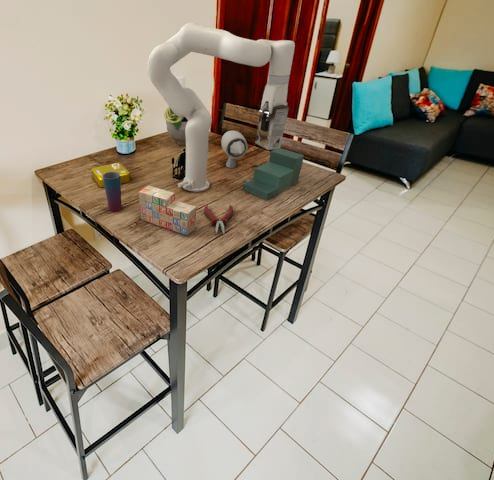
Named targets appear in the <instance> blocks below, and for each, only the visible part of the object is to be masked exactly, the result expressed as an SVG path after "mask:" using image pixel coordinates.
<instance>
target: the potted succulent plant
mask: <svg viewBox="0 0 494 480" xmlns="http://www.w3.org/2000/svg"><path fill="white" fill-rule="evenodd" d="M163 116H164V117H163V118H164V120H165V121H166V123H165V124H166V131H167V134H168V136H169V137H170V138H171V139H172V140H174V141H176V143H177V144H178V145H180V146H186V136H185V128H186V124H187V122H188V120H187V119H186V117H179V116H177V115H176V114H175V113H174V112H173V111H172V109H171V108H170V107H169V106H168V107H167V108H166V109H165V112H164V114H163Z"/></svg>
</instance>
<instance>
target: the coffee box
mask: <svg viewBox="0 0 494 480" xmlns="http://www.w3.org/2000/svg"><path fill="white" fill-rule="evenodd" d="M289 111H290V106H288V105H287V106H285V105H279V106H275V107H273V111H272V114H270V118H269V120H268V121H269V127H268V131H267V132H266V131H262V130H260V128H261V121H262V120H261V117H260V115H259V117H258V123H257V130H256V135H255V136H256V137H255V141H254V144H256V145H258V146H260V147H261V148H263V149H265V150H267V151H272V150H275V149H279V148H281V146H282V141H283V136H284V132H285V127H286V122H287V118H288V114H289ZM267 112H269V110H267ZM267 115H268V114H266V116H267Z"/></svg>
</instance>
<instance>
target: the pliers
mask: <svg viewBox="0 0 494 480" xmlns="http://www.w3.org/2000/svg"><path fill="white" fill-rule="evenodd" d="M203 212H204V215H205V216H206V217H207V218H208V219H209V220H211V226H213V227H214V226H215V235H216V236H217V234H218V232H219V228H220V230H221V232H222V234H223V235H224V236H225V227H226V226H227V225H228V222H229V221H228V220H230V219H231V217H232V216H233V214H234V208H233V205H231V204H230V205H229V206H228V212H227V213H225V214H224V215H223V216H222V217H221V218H220V219H219V218H218V217H217V216H216V215H215V214H214V213H213V212H212V211H210V210H209V206H208V204H205V205H204V209H203Z"/></svg>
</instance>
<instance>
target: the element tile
mask: <svg viewBox="0 0 494 480" xmlns="http://www.w3.org/2000/svg"><path fill="white" fill-rule="evenodd" d="M112 171H114V172H118V173H120V180H121V185H122V184H126V183H129V182H131V173H130V171H129V170H128V169H127V168H126V167H125V166H124V165H123V164H122V163H121V162H114V163H110V164H104V165H100V166H95V167H92V168H91V175H92V176H91V177H92V178H93V180H94V181H95V182H96V184H97V185H98V186H99V187H100V188H105V186H104V181H103V174H104V173H106V172H112Z"/></svg>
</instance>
